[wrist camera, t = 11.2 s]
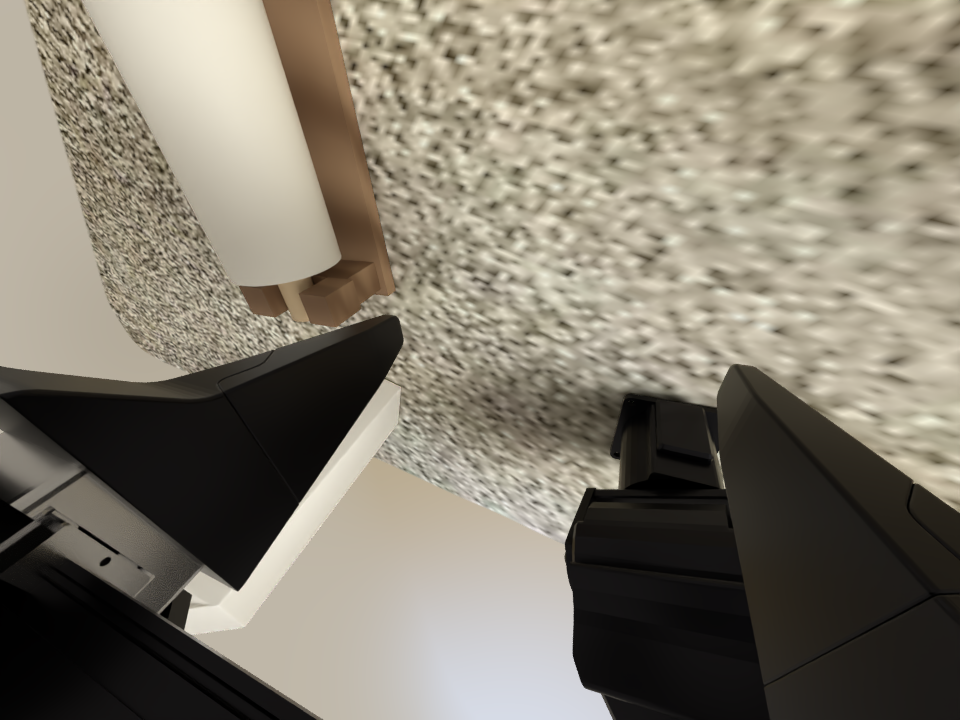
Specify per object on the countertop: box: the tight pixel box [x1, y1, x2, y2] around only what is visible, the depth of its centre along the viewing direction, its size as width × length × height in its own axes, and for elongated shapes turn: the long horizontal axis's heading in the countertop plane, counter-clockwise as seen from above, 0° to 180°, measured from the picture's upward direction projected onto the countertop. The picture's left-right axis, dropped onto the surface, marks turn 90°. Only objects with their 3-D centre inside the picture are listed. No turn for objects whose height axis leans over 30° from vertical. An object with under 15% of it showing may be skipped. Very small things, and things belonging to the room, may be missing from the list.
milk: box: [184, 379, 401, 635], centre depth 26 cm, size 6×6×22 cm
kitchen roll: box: [81, 0, 341, 322], centre depth 17 cm, size 22×6×6 cm, turn 4°
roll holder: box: [239, 0, 395, 327], centre depth 18 cm, size 22×7×6 cm, turn 4°
